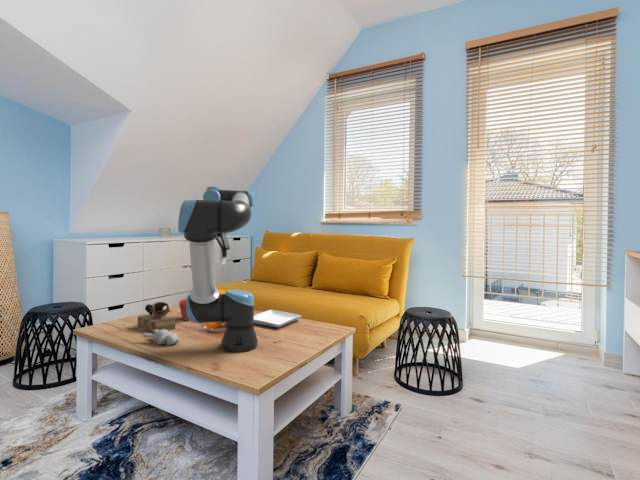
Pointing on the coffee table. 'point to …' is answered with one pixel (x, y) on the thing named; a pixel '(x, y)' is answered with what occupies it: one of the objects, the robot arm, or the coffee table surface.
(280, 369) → the coffee table surface
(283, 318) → the salad plate
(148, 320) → the walnut block
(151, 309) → the pottery mug
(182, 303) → the flower pot
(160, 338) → the bunny figurine
